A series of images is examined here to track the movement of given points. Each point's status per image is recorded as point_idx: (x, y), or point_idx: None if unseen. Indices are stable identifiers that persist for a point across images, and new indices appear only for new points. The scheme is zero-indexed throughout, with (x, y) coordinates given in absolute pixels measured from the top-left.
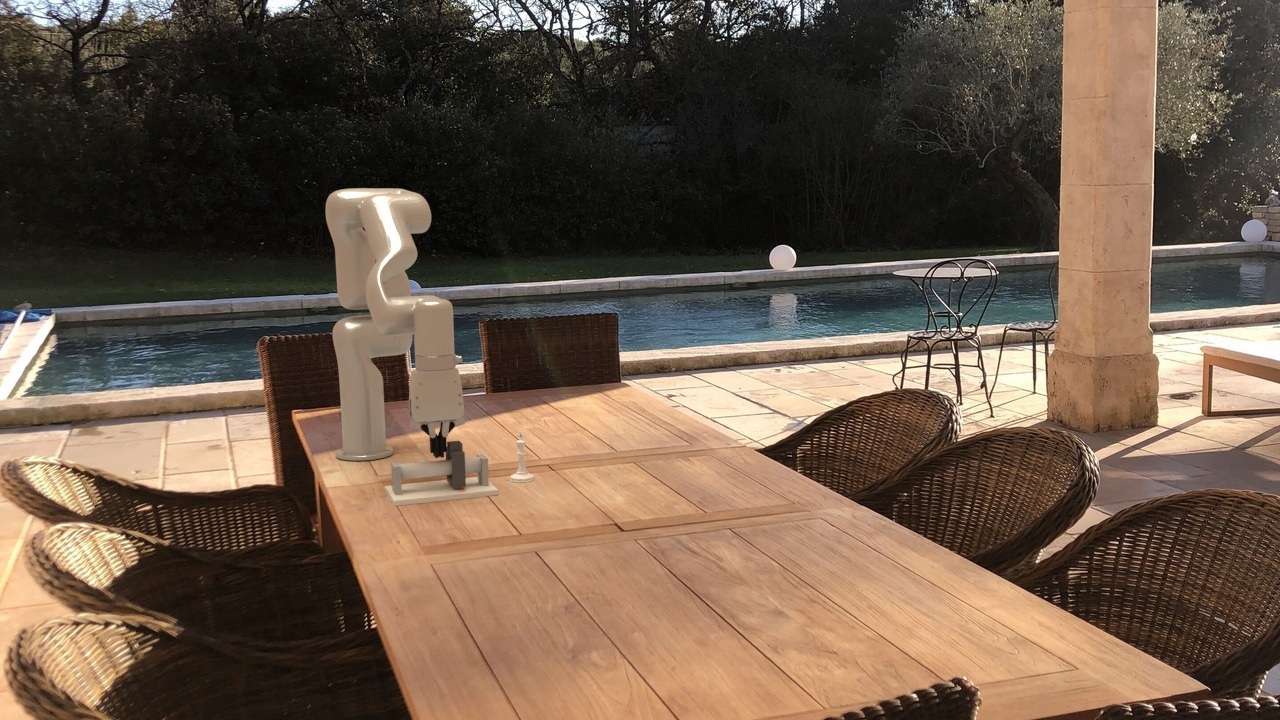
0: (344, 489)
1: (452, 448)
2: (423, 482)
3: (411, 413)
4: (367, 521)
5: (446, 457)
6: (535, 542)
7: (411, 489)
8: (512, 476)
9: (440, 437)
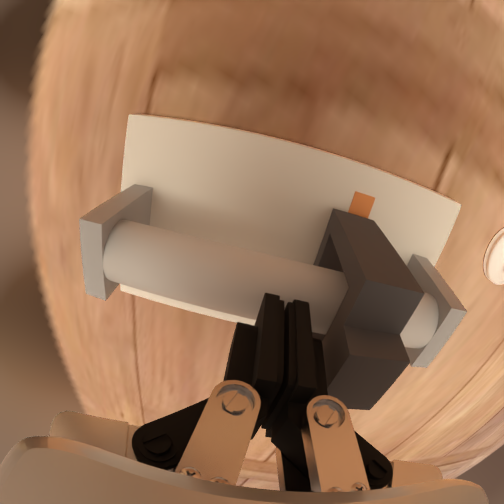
0: (62, 47)
1: None
2: (264, 141)
3: (12, 464)
4: (78, 334)
5: (346, 265)
6: (262, 472)
7: (189, 210)
8: (495, 255)
9: (269, 430)
